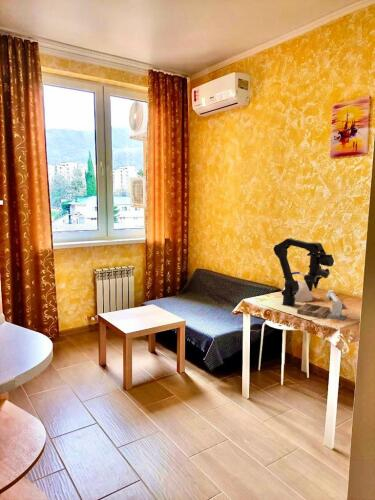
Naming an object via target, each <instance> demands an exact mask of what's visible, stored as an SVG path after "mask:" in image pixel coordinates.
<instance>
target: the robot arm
mask: <svg viewBox="0 0 375 500" xmlns="http://www.w3.org/2000/svg"><path fill="white" fill-rule="evenodd" d="M273 246H274V247H273V252H274V254H275V256H276V257H277V258H278V260H279V263H280V267H281V271H282V274H283V277H285V278H284V287H285V289H284V288H283V289H284V290H281V292H280V293H281V296H282V295H283V297H282V298H283V299H282V303H281V305H284V306H288V307H292V306H295V305H296V301H295V298H294V297H295V295H296V293H297V292H298V290H299V285H298V281H299V280H296V279H294V277H293V275H292V270H291V267H290V264H289V263H290V262H289V260H288V249H290V248H291V246H293V247H296V248H301V249H305V250H306V251H307V252H308V253H307V254H306V256H307V257H309V265H308V268H309V270H308V271H309V272H307V274H305V276H303V280H304V281H305V282H306V284H307V286H308V288H309V291H312V292H313V288H314V289H317V287H318V285H319V282H320V280H322V279H327V278H329V276H330V275H331V271H330V269H329V268H325V269H324V268H322V266H324V267H330V268H332V267H333V266H334V264H335V263H334V262H335V260H334V257H333V254H327V252H326V250H325V249H324V246H323V244H322V243H320V242H307V241H304V240H299V239H295V238H292V237H291V238H290V237H289V238H286V239H284V240H282V241H281V242H280V243H277V244H275V245H273Z"/></svg>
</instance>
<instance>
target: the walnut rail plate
mask: <svg viewBox="0 0 375 500" xmlns="http://www.w3.org/2000/svg"><path fill="white" fill-rule="evenodd" d="M330 309H331V307H329V306H322V305H317V304H312V303H305V304H303V305H302V306H300V307H299V308H297V312H296V314H299V315H301V316H302V315H303V316H308V317H313V318H318V319H323V318H324V317H325V316H327V315H328V314H329V313H331V312H330V311H331V310H330ZM312 310H315V311H312Z"/></svg>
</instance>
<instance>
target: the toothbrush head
mask: <svg viewBox="0 0 375 500" xmlns="http://www.w3.org/2000/svg"><path fill="white" fill-rule="evenodd" d="M326 299H327V300H330V301H333V302H334V301H338V302H342V309H343V308H344V306H345V305H344V304H343V301H342V300H341V299H340V298H338V296H337V295H336V294H335V291H334V290H333V289H329V290H328V291H327V293H326Z"/></svg>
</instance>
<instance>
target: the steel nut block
mask: <svg viewBox="0 0 375 500" xmlns="http://www.w3.org/2000/svg"><path fill="white" fill-rule="evenodd" d="M342 302H343V301H342ZM342 302H338V301H333V302H332V307H331V313H332V316H334V317H339V318H340V317H341V315H343V314H342V313H343V308H342Z"/></svg>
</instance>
